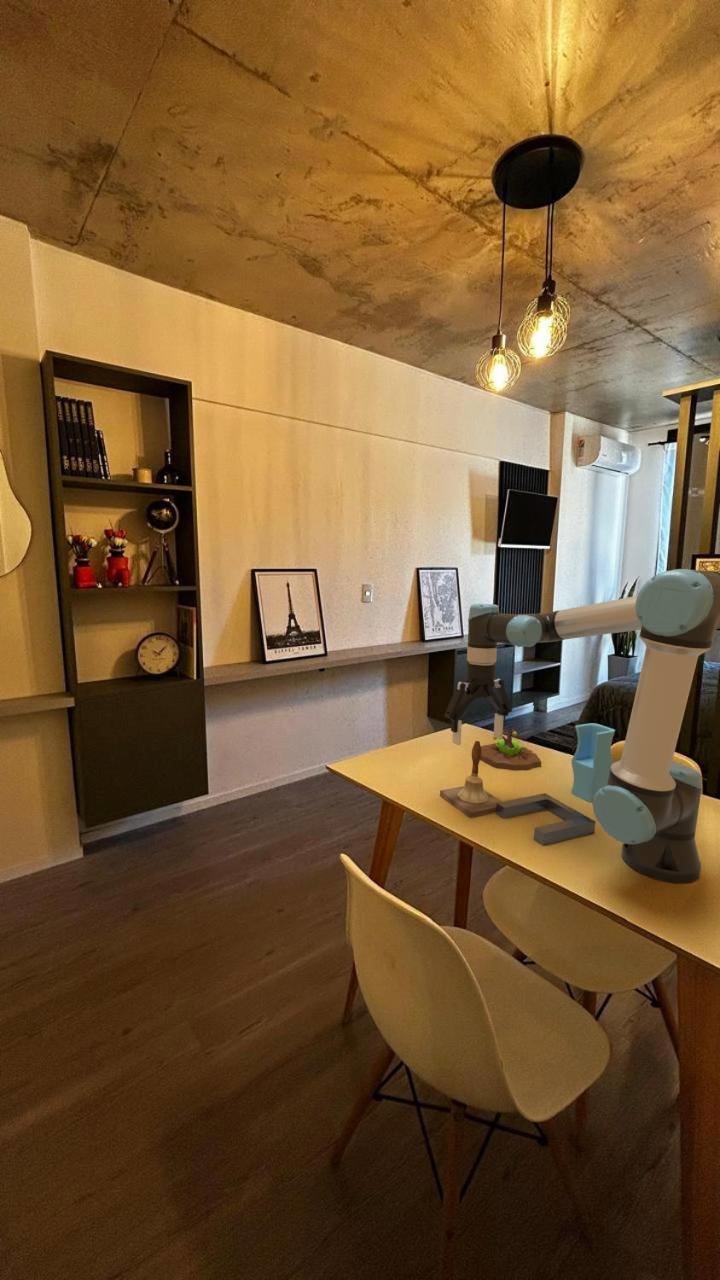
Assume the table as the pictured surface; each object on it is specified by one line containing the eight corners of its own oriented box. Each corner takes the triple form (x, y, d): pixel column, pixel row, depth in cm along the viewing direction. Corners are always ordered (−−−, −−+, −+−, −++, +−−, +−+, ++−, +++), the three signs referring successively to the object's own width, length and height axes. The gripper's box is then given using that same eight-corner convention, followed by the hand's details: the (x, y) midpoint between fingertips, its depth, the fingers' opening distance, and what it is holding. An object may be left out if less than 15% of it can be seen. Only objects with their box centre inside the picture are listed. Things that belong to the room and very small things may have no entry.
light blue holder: (568, 792, 152) (574, 725, 149) (587, 787, 156) (593, 722, 153) (591, 803, 145) (598, 733, 142) (610, 798, 149) (617, 730, 146)
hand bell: (486, 792, 147) (489, 737, 145) (490, 805, 139) (494, 747, 136) (456, 790, 148) (459, 735, 145) (459, 803, 139) (462, 745, 137)
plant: (495, 773, 165) (497, 739, 164) (468, 751, 184) (470, 721, 182) (551, 769, 170) (554, 736, 169) (519, 748, 189) (521, 718, 187)
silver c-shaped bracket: (594, 832, 129) (595, 821, 128) (542, 845, 122) (543, 833, 122) (544, 803, 144) (545, 793, 144) (496, 813, 137) (496, 802, 137)
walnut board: (506, 810, 140) (507, 804, 139) (469, 817, 135) (470, 812, 134) (474, 789, 152) (475, 784, 152) (439, 795, 147) (440, 790, 147)
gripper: (509, 658, 146) (505, 731, 149) (433, 663, 136) (430, 741, 139) (528, 662, 140) (523, 739, 142) (449, 667, 129) (446, 750, 132)
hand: (477, 740), depth 141 cm, fingers open, 13 cm apart
